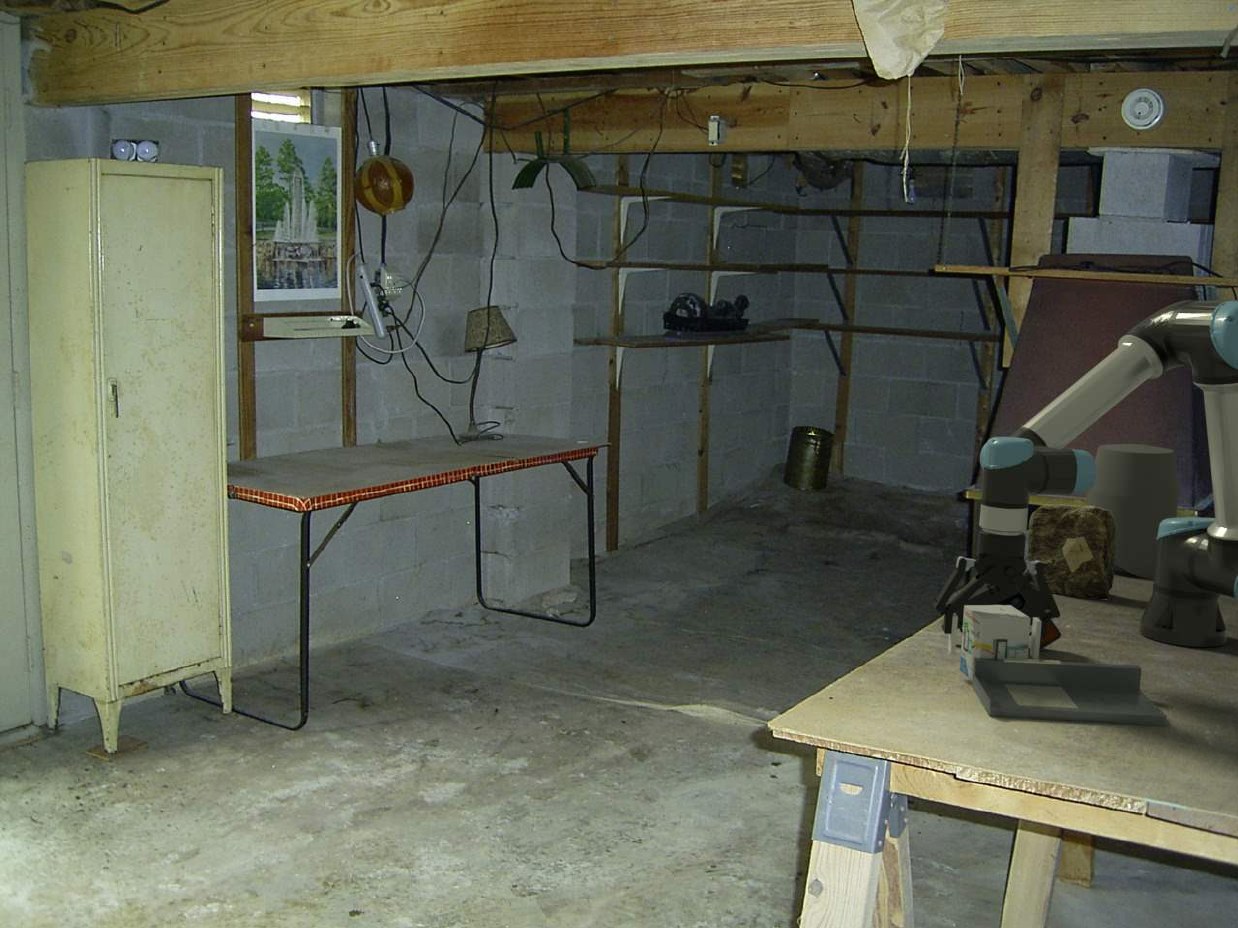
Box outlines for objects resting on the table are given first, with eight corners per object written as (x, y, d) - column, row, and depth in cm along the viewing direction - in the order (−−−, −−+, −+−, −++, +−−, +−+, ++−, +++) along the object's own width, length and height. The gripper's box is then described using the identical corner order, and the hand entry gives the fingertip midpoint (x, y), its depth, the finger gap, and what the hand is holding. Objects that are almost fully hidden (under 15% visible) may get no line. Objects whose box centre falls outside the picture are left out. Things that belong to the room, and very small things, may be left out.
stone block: (1112, 593, 266) (1119, 503, 263) (1112, 602, 258) (1119, 510, 255) (1024, 584, 273) (1031, 496, 270) (1021, 592, 264) (1028, 502, 262)
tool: (1070, 640, 217) (1032, 566, 217) (970, 684, 222) (932, 612, 221) (1065, 631, 223) (1027, 559, 223) (968, 674, 228) (931, 603, 227)
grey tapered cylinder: (1139, 558, 302) (1149, 439, 298) (1189, 577, 283) (1201, 450, 278) (1065, 560, 299) (1074, 439, 295) (1111, 579, 279) (1122, 450, 275)
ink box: (958, 669, 208) (962, 603, 207) (1006, 669, 209) (1011, 603, 208) (977, 685, 200) (982, 617, 198) (1027, 685, 201) (1032, 617, 199)
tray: (1135, 695, 197) (1138, 664, 196) (1166, 725, 183) (1169, 692, 182) (972, 687, 199) (974, 656, 198) (989, 716, 185) (991, 683, 185)
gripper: (1073, 530, 204) (1063, 652, 207) (922, 522, 206) (913, 643, 209) (1086, 538, 196) (1075, 665, 199) (929, 530, 198) (920, 656, 201)
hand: (992, 654), depth 204 cm, fingers open, 13 cm apart
